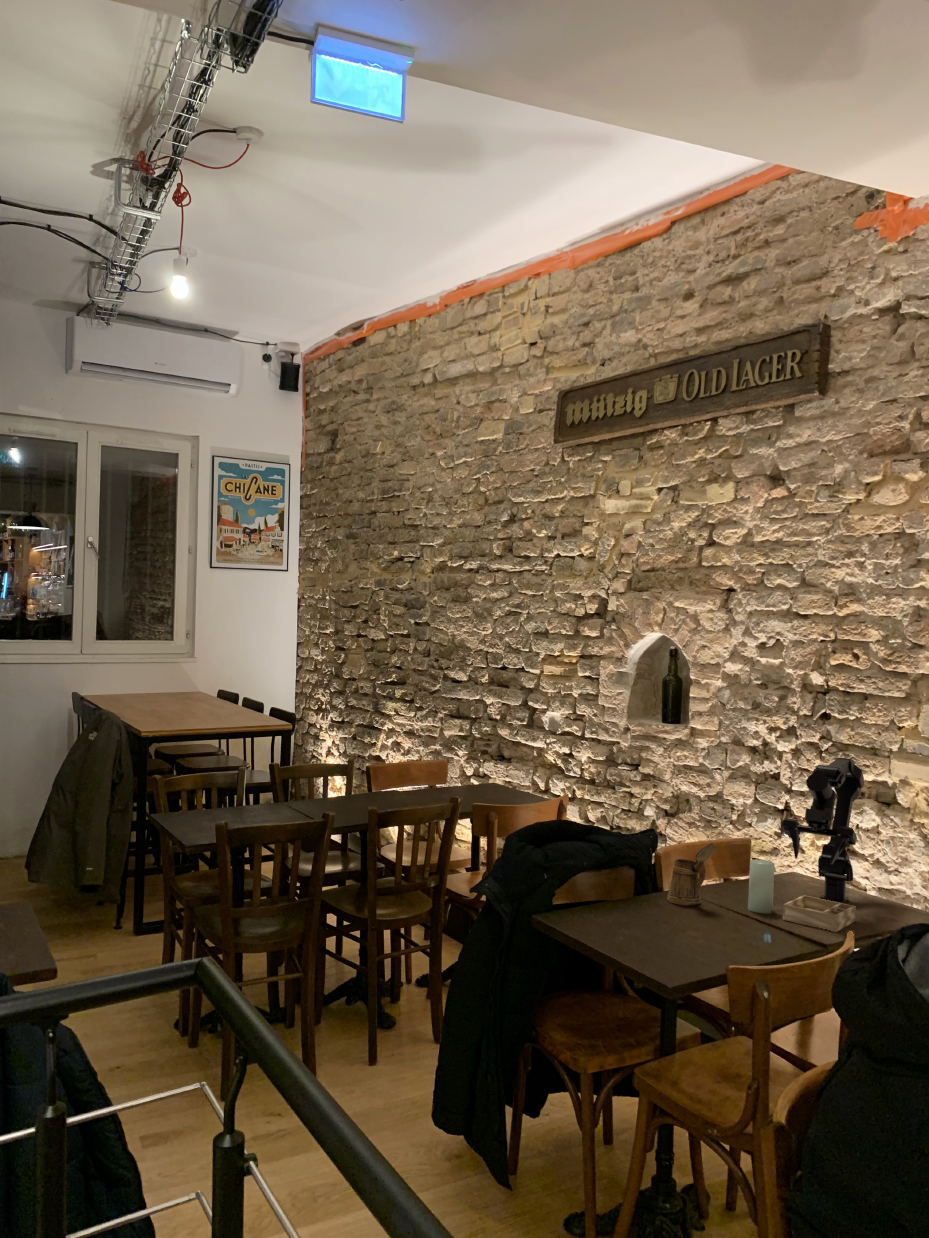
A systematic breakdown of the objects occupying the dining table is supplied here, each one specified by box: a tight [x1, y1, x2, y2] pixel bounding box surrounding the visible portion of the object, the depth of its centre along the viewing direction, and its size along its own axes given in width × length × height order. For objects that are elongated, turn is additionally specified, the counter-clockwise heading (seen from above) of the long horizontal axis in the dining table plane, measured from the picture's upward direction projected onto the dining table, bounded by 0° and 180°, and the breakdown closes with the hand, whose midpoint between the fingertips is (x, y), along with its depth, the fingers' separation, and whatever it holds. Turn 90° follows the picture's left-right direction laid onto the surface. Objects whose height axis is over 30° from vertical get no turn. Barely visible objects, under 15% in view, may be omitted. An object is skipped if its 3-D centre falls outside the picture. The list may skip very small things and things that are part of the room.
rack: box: [782, 894, 857, 933], centre depth 255 cm, size 15×14×4 cm
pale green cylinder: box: [747, 859, 776, 914], centre depth 262 cm, size 6×6×13 cm
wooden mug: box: [666, 843, 716, 907], centre depth 265 cm, size 9×14×18 cm, turn 37°
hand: (813, 860), depth 257 cm, fingers open, 9 cm apart
